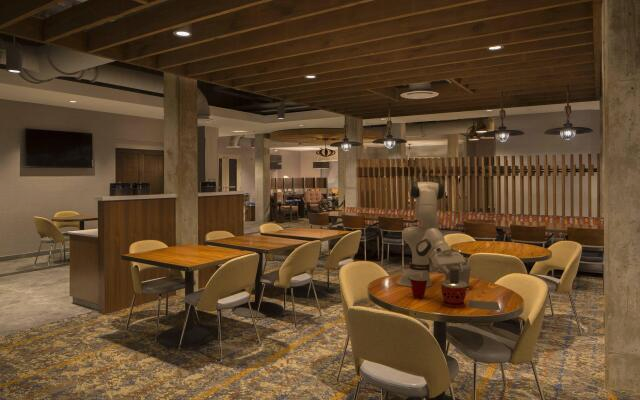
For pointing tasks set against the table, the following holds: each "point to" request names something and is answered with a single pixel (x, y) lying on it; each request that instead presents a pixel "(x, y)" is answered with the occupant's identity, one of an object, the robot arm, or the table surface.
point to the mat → (484, 305)
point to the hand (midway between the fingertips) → (455, 272)
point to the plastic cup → (418, 286)
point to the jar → (462, 275)
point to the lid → (454, 280)
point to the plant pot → (453, 296)
